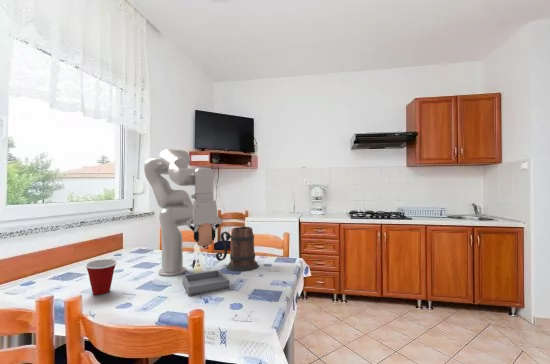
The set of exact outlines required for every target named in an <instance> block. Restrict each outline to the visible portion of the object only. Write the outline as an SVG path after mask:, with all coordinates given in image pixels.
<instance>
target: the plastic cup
mask: <svg viewBox="0 0 550 364" xmlns="http://www.w3.org/2000/svg"><path fill="white" fill-rule="evenodd" d="M117 264H118V260H116V259H113V258H112V259H111V258H103V259H96V260H95V259H94V260H92V261H88V262H87V263H85V265H84V267H85V268H86V270H87V273H88V274H87V275H88V278H89V284H90V287H91V288H90V289H91V293H92V294H93V295H94V296H100V294H102V295H105V293H106V294H108V293H110V291H111V287H112V282H113V276H114V271H115V267H116V265H117ZM107 292H108V293H107Z"/></svg>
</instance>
